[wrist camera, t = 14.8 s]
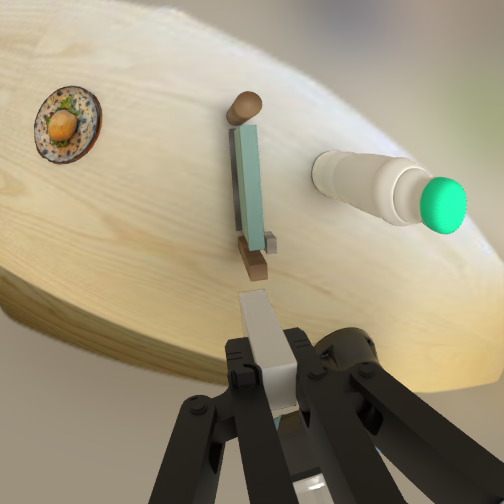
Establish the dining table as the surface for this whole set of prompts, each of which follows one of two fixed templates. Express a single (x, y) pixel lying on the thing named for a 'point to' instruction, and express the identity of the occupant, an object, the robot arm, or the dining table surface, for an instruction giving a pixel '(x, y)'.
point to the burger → (67, 125)
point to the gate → (249, 186)
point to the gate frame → (237, 115)
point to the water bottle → (391, 189)
